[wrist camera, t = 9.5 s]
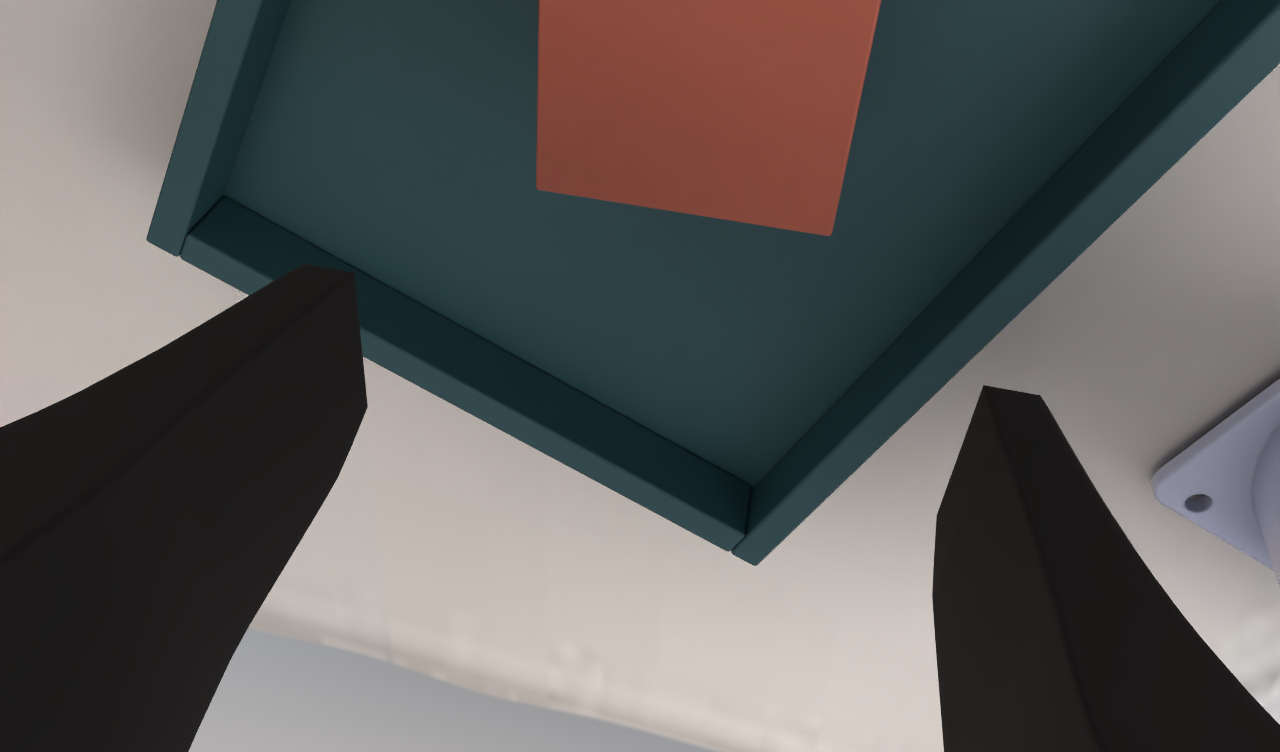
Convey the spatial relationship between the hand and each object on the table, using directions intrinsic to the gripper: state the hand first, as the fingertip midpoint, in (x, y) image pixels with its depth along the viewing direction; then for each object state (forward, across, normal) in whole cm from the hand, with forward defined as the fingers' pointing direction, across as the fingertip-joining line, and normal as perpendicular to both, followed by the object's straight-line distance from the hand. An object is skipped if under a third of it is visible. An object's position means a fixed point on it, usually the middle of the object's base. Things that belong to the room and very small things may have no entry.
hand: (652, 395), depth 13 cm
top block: (+9, 0, -2) cm, 9 cm away
